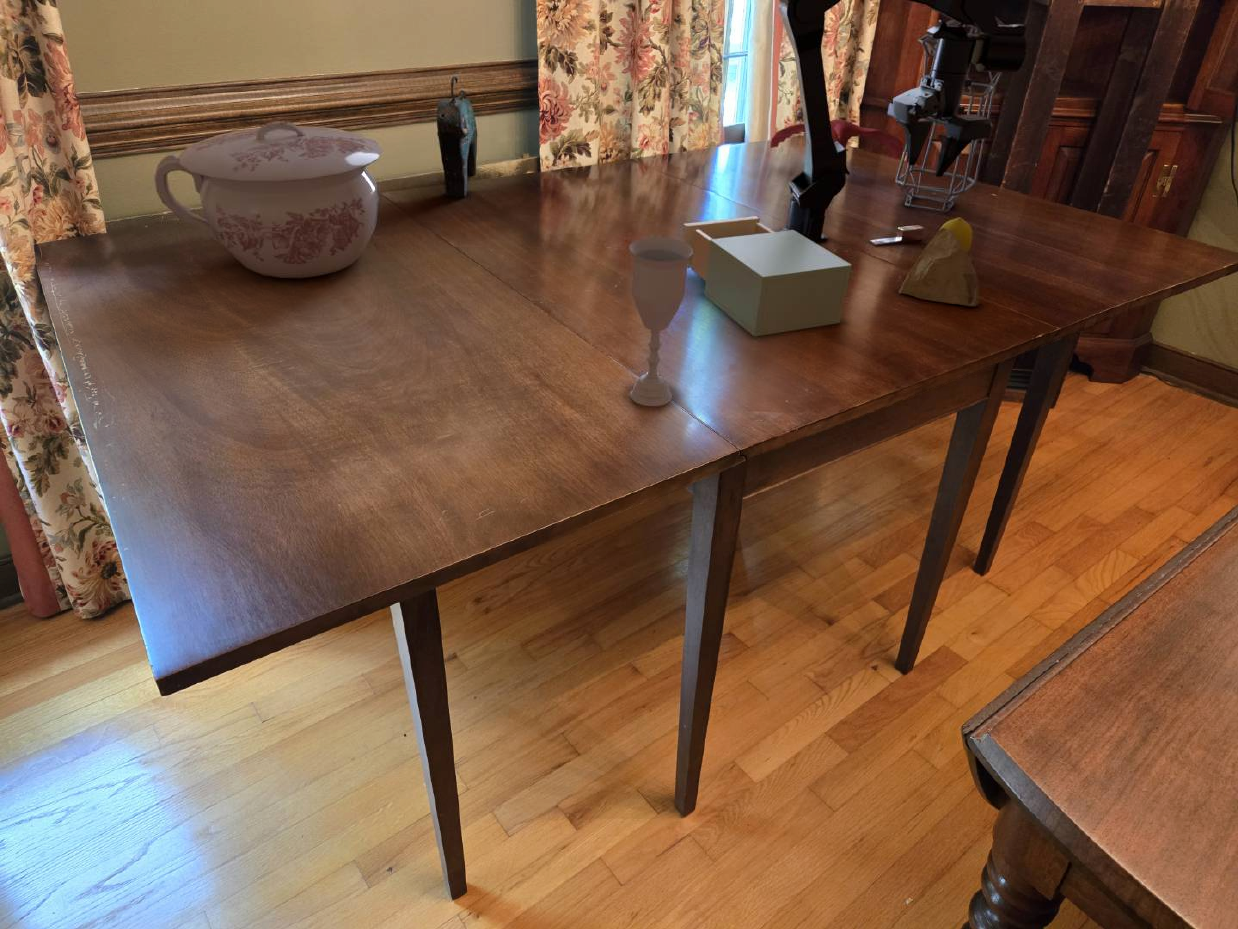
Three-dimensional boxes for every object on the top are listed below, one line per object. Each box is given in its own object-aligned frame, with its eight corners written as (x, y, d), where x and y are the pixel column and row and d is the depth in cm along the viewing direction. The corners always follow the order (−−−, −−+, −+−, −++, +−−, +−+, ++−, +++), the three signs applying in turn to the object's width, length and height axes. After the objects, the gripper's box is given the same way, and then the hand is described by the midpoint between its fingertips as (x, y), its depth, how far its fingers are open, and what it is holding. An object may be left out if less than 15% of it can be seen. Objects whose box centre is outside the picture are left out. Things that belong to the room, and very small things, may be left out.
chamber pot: (430, 251, 133) (417, 115, 121) (312, 313, 113) (282, 157, 101) (296, 220, 142) (271, 91, 130) (163, 274, 122) (119, 126, 110)
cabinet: (704, 295, 123) (709, 239, 118) (784, 284, 128) (793, 229, 123) (754, 337, 112) (762, 277, 107) (840, 322, 117) (852, 264, 112)
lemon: (966, 272, 135) (980, 224, 130) (931, 268, 135) (944, 220, 131) (961, 260, 139) (975, 213, 134) (928, 257, 140) (940, 210, 135)
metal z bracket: (915, 236, 148) (918, 224, 147) (921, 239, 147) (924, 227, 146) (869, 242, 145) (872, 229, 144) (876, 245, 143) (878, 233, 142)
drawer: (666, 255, 133) (669, 213, 129) (736, 247, 138) (741, 206, 134) (720, 299, 120) (726, 254, 116) (796, 288, 124) (803, 244, 120)
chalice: (620, 380, 101) (626, 236, 90) (675, 379, 101) (687, 237, 91) (625, 411, 95) (632, 261, 84) (683, 411, 95) (698, 261, 85)
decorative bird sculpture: (765, 179, 190) (771, 139, 175) (769, 143, 192) (776, 101, 177) (890, 190, 186) (907, 150, 172) (893, 153, 188) (911, 111, 174)
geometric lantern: (978, 203, 166) (1034, 6, 146) (959, 223, 155) (1017, 13, 135) (901, 188, 173) (945, -3, 153) (877, 207, 162) (921, 3, 142)
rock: (1001, 289, 123) (952, 258, 129) (997, 253, 116) (945, 221, 123) (945, 337, 124) (899, 304, 130) (937, 304, 117) (889, 270, 123)
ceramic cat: (468, 200, 155) (461, 85, 144) (434, 198, 155) (424, 83, 144) (484, 170, 171) (478, 65, 160) (453, 169, 171) (445, 64, 160)
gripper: (872, 61, 135) (852, 159, 144) (950, 83, 121) (923, 190, 130) (925, 59, 139) (903, 155, 148) (1007, 80, 125) (978, 185, 134)
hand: (924, 170), depth 140 cm, fingers open, 7 cm apart
